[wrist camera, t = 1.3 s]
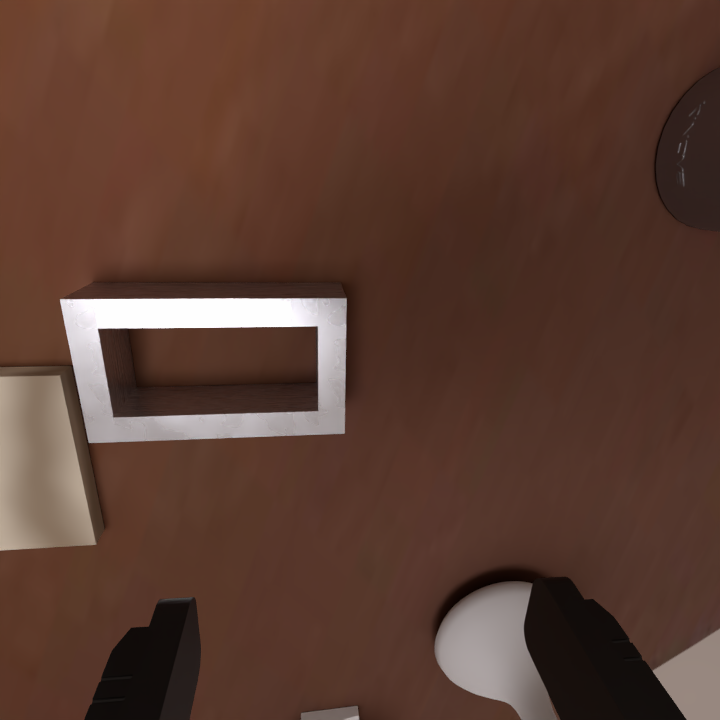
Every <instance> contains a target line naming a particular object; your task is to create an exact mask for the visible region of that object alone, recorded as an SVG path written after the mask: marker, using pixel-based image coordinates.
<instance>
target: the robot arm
mask: <svg viewBox="0 0 720 720" xmlns="http://www.w3.org/2000/svg"><path fill="white" fill-rule="evenodd" d="M656 180H657V185H658V189H659V193H660V196H661V198H662V200H663V202H664V204H665V206H666V208H667V209H668V210H669V211H670V212H671V214H672V215H673V216H674V217H675V218H676V219H677V220H679V221H681V222H683V223H684V224H686V225H688V226H691V227H695V228H698V229H703V230H711V231H718V232H720V68H718V69H715V70H713V71H712V72H711V73H709V74H708V75H706V76H705V77H703V78H702V79H700V80H699V81H698V82H697V83H696V84H695V85H694V86H693V87H692V88H691V89H690V90H689V91H688V92H687V93H686V94H685V95H684V96H683V98H682V99H681V100H680V102H679V103H678V105H677V106H676V107H675V109H674V110H673V112H672V114H671V116H670V118H669V120H668V122H667V124H666V126H665V128H664V130H663V133H662V136H661V140H660V143H659V146H658V152H657V159H656ZM524 637H525V642H526V646H527V649H528V652H529V654H530V656H531V658H532V660H533V662H534V665H535V667H536V669H537V671H538V673H539V675H540V677H541V679H542V681H543V684H544V686H545V688H546V690H547V692H548V694H549V696H550V698H551V700H552V703H553V705H554V707H555V709H556V711H557V713H558V715H559V717H560V719H561V720H686V718H685V717H684V715H683V714H682V713H681V711H680V710H679V708H678V707H677V705H676V704H675V703H674V701H673V700H672V698H671V697H670V696H669V694H668V693H667V691H666V690H665V688H664V687H663V686H662V684H661V683H660V681H659V680H658V679H657V677H656V676H655V674H654V673H653V671H652V670H651V669H650V667H649V666H648V664H647V663H646V662H645V661H643V660H642V656H641V654H640V653H639V652H638V650H637V649H636V647H635V646H634V645H633V643H630V641H629V638H628V636H627V635H626V633H625V632H624V630H623V629H622V628H621V626H620V625H619V623H618V622H617V621H616V619H615V618H614V617H613V616H612V615H611V614H610V613H609V612H608V611H606V610H605V609H604V608H603V607H602V606H600V605H599V604H598V603H597V602H596V601H595V600H593V599H588V600H584V598H583V597H582V595H581V594H580V592H579V591H578V589H577V588H576V586H575V585H574V583H573V582H572V581H571V580H570V579H569V578H568V577H552V578H537V579H535V580H534V582H533V584H532V589H531V593H530V598H529V602H528V607H527V612H526V616H525V621H524ZM200 658H201V644H200V634H199V625H198V615H197V606H196V600H195V598H194V597H190V598H173V599H160V600H159V601H158V603H157V605H156V608H155V611H154V614H153V617H152V619H151V622H150V625H149V627H136V628H131V629H130V630H129V631H128V632H127V633H126V635H125V636H124V637H123V638H122V639H121V641H120V642H119V643H118V644H117V645H116V647H115V648H114V649H113V650H112V652H111V654H110V657H109V659H108V662H107V664H106V667H105V669H104V672H103V674H102V679H101V682H99V684H98V687H97V689H96V692H95V694H94V697H93V702H92V705H90V707H89V709H88V712H87V714H86V717H85V719H84V720H189V719H190V714H191V709H192V705H193V700H194V695H195V690H196V685H197V681H198V676H199V669H200Z"/></svg>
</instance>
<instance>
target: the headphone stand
mask: <svg viewBox="0 0 720 720" xmlns="http://www.w3.org/2000/svg"><path fill="white" fill-rule="evenodd" d="M301 720H359V713H358V706H352V707H344V708H337V709H329V710H321V711H313V712H305V713H301Z"/></svg>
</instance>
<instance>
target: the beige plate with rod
mask: <svg viewBox="0 0 720 720" xmlns="http://www.w3.org/2000/svg"><path fill="white" fill-rule="evenodd" d="M104 529H105V528H104V523H103V518H102V513H101V508H100V504H99V499H98V494H97V489H96V484H95V479H94V474H93V469H92V464H91V459H90V454H89V449H88V444H87V439H86V434H85V429H84V425H83V420H82V415H81V410H80V405H79V400H78V395H77V390H76V385H75V380H74V375H73V370H72V366H36V367H0V550H15V549H32V548H48V547H65V546H81V545H96V544H97V542H98V540H99V538H100V536H101V535H102V533H103V531H104Z"/></svg>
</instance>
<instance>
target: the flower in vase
mask: <svg viewBox="0 0 720 720" xmlns="http://www.w3.org/2000/svg"><path fill="white" fill-rule="evenodd" d="M532 584H533V583H529V582H522V581H507V582H500V583H495V584H491V585H488V586H485V587H483V588H480V589H478V590H476V591H474V592H472V593H470V594H469V595H467V596H466V597H464V598H463V599H461V600H460V601H459V602H458V603H457V604H455V605H454V606H453V607H452V608H451V609H450V611H449V612H448V613H447V615H446V616H445V617H444V619H443V621H442V623H441V625H440V628H439V630H438V633H437V636H436V640H435V657H436V659H437V662H438V664H439V666H440V667H441V669H442V670H443V671H444V673H445V674H446V675H447V677H448V678H449V679H450V680H451V681H452V682H454V683H455V684H456V685H458V686H460V687H461V688H463V689H465V690H467V691H469V692H472V693H474V694H476V695H480V696H484V697H487V698H491V699H495V700H500V701H503V702H506V703H508V704H510V705H511V706H512V707H513V708H514V709H515V710H516V711H517V713H518V715H519V716H520V718H521V720H557V718H556V716H555V714H554V711H553V709H552V706H551V703H550V700H549V694H548V692H547V690H546V688H545V686H544V684H543V681H542V679H541V677H540V675H539V673H538V671H537V669H536V667H535V665H534V662H533V660H532V658H531V656H530V654H529V652H528V649H527V646H526V642H525V637H524V621H525V616H526V612H527V607H528V602H529V598H530V593H531V589H532Z"/></svg>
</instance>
